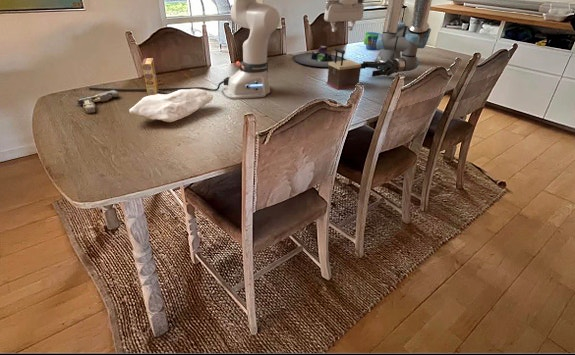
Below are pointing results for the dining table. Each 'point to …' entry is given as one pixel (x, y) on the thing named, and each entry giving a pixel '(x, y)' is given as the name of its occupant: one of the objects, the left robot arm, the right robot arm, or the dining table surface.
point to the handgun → (95, 100)
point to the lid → (343, 62)
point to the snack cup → (371, 40)
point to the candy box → (150, 76)
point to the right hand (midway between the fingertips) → (364, 70)
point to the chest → (343, 77)
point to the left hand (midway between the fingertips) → (342, 30)
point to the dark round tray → (316, 58)
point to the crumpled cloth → (171, 104)
